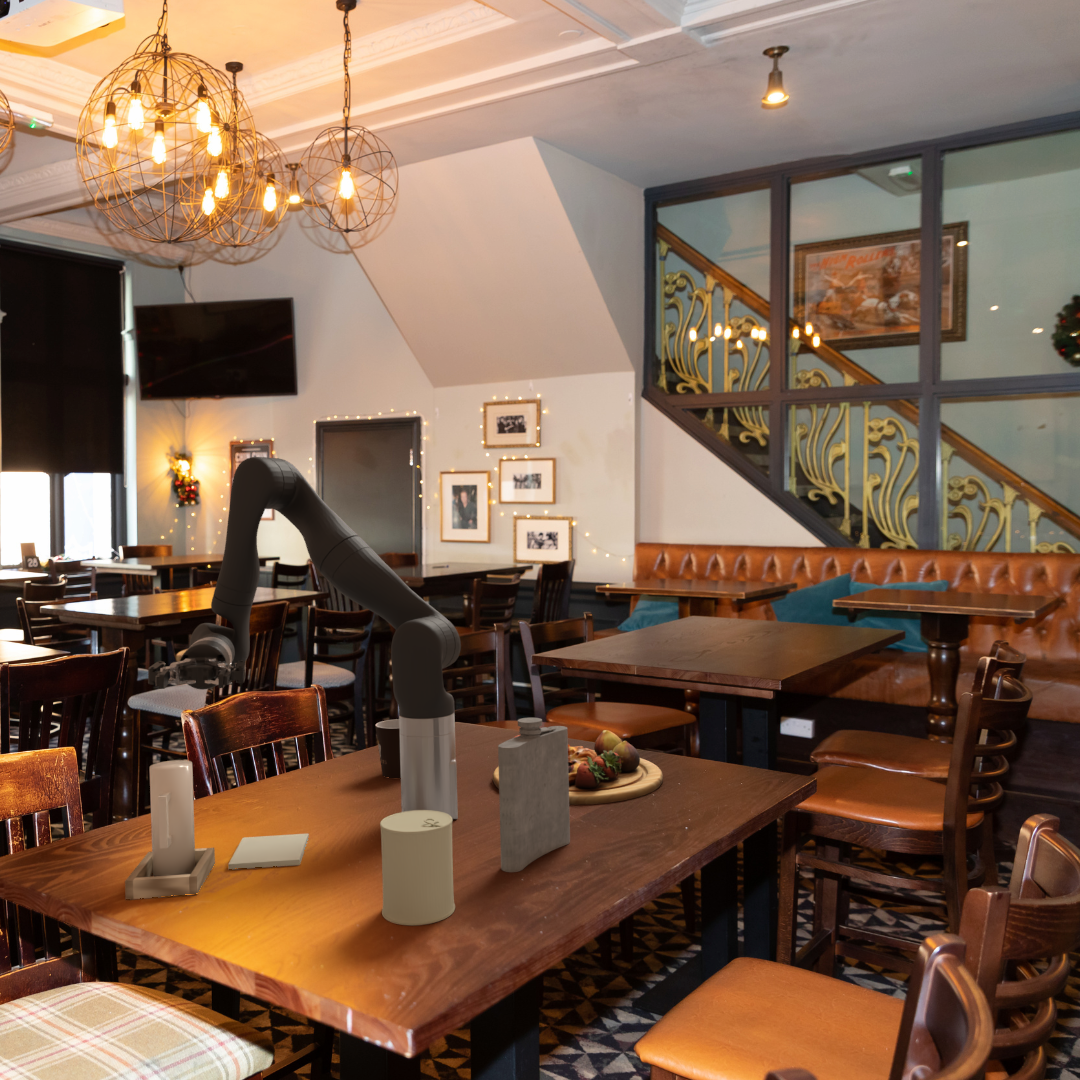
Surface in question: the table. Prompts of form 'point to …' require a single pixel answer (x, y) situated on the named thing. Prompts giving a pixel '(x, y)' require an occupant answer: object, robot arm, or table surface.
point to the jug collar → (169, 878)
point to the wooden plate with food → (607, 772)
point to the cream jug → (172, 818)
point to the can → (417, 867)
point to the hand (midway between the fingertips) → (191, 681)
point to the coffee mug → (389, 747)
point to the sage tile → (269, 851)
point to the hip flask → (533, 793)
